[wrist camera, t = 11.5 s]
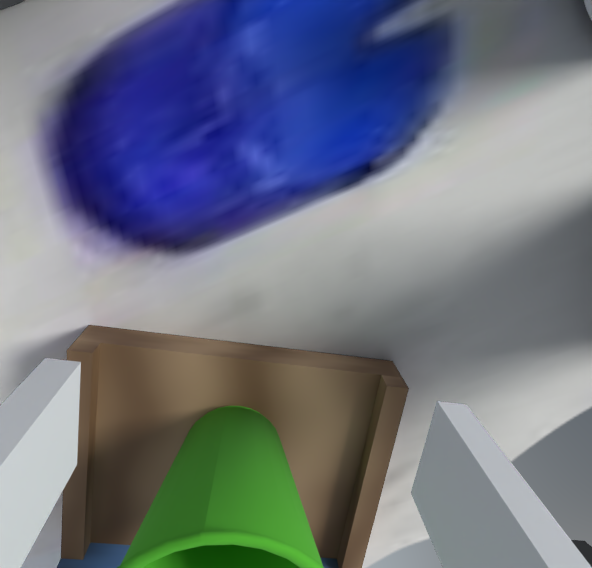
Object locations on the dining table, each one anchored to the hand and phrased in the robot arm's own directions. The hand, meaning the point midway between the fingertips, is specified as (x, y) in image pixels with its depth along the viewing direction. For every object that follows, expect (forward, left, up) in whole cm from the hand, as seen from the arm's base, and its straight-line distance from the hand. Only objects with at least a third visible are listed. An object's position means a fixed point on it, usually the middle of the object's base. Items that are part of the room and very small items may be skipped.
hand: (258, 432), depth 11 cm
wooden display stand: (0, -12, -15) cm, 19 cm away
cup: (0, -10, -14) cm, 17 cm away
